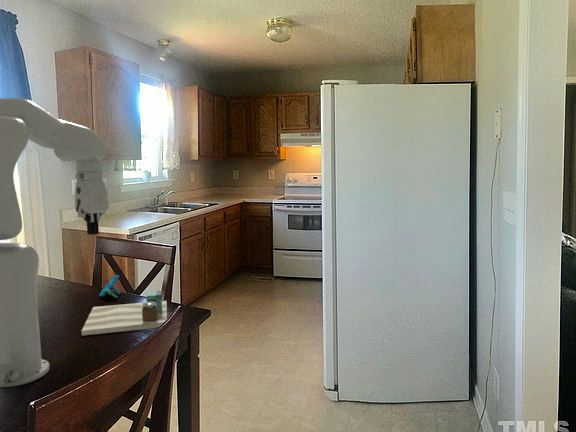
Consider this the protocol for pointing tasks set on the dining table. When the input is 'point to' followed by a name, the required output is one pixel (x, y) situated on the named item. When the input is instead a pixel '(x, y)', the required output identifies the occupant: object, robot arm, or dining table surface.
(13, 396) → the dining table surface
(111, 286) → the gear
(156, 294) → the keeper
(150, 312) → the link
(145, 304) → the disc
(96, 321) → the board
